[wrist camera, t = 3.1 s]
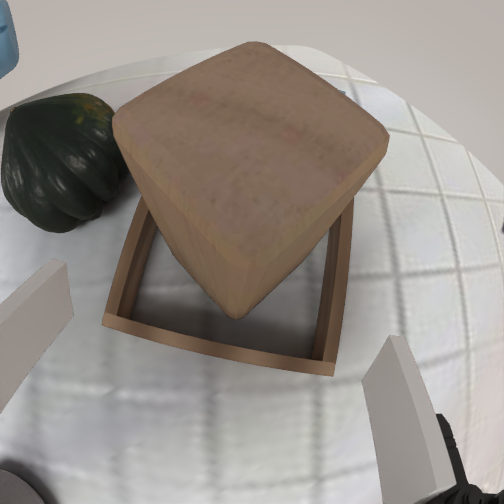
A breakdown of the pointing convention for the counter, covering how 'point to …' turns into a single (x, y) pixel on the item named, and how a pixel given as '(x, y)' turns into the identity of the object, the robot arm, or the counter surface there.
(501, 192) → the counter surface
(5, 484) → the coffee pot
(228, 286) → the block
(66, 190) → the squash
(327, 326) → the walnut frame
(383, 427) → the robot arm
